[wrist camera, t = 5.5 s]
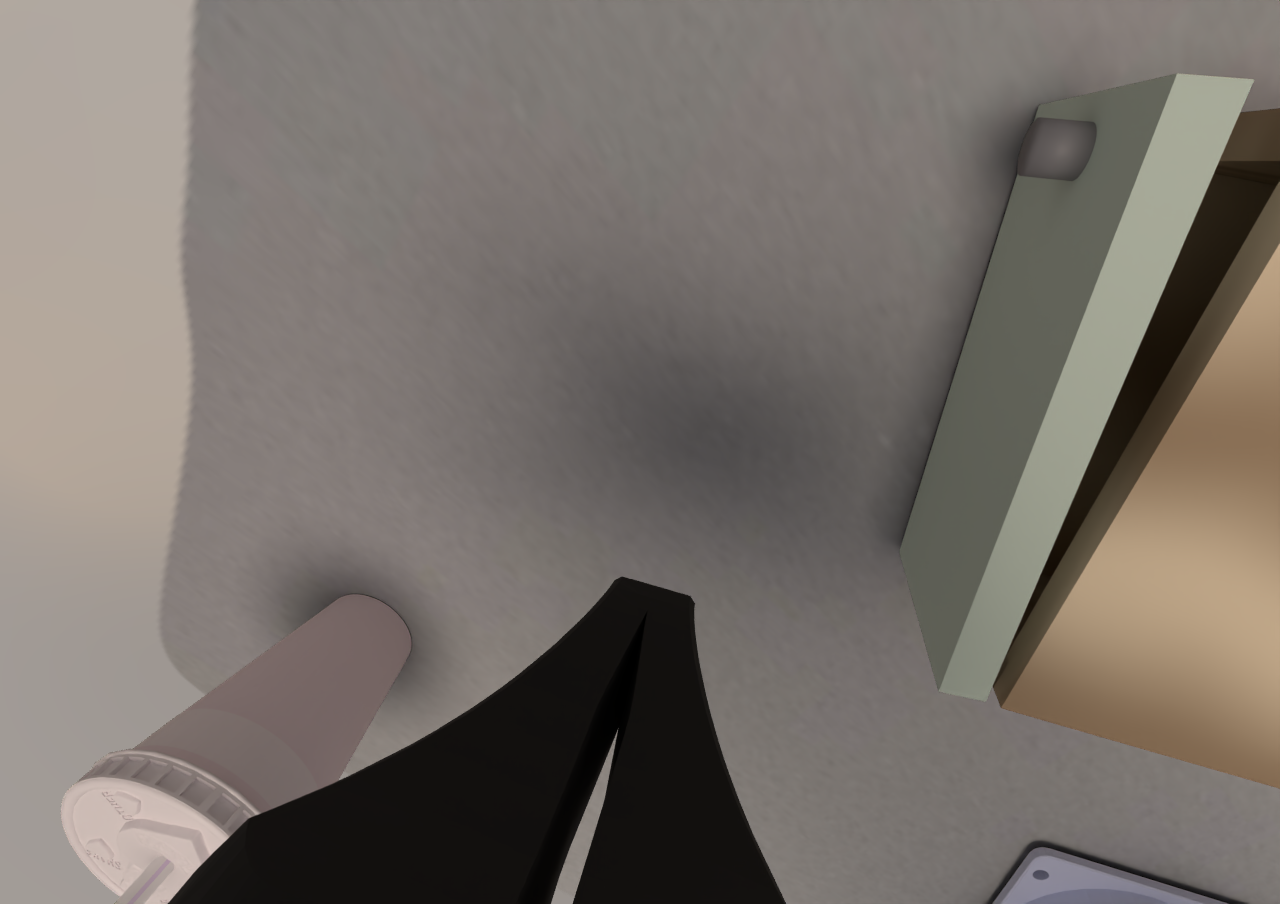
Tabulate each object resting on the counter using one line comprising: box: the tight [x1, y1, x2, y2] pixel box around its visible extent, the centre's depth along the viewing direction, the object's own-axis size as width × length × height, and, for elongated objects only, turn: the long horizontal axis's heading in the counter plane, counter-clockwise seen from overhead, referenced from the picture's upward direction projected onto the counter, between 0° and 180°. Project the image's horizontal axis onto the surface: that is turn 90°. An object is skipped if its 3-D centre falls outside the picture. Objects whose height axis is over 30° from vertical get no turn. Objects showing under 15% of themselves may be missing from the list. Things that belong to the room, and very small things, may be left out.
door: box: [899, 74, 1254, 702], centre depth 14 cm, size 12×2×6 cm, turn 175°
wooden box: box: [993, 108, 1280, 788], centre depth 14 cm, size 12×8×6 cm, turn 169°
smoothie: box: [61, 594, 412, 904], centre depth 20 cm, size 6×6×14 cm
